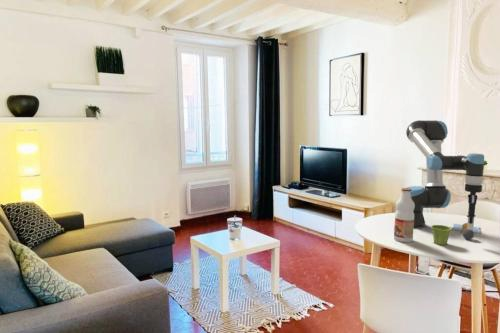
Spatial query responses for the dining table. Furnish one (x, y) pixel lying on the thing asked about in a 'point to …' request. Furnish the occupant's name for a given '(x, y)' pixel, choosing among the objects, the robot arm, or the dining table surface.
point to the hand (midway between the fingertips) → (470, 229)
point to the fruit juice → (404, 217)
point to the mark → (459, 227)
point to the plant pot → (440, 234)
